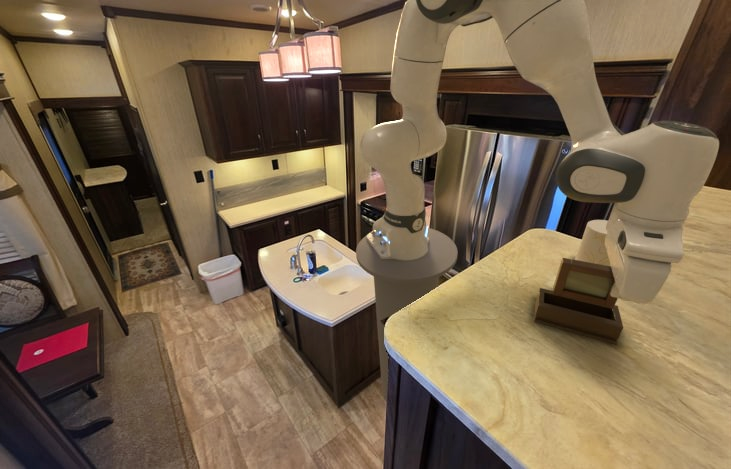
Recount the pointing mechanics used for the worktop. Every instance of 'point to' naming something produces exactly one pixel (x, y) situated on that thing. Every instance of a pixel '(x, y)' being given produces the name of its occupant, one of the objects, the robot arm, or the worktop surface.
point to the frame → (585, 282)
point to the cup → (594, 244)
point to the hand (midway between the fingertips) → (613, 289)
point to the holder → (578, 316)
